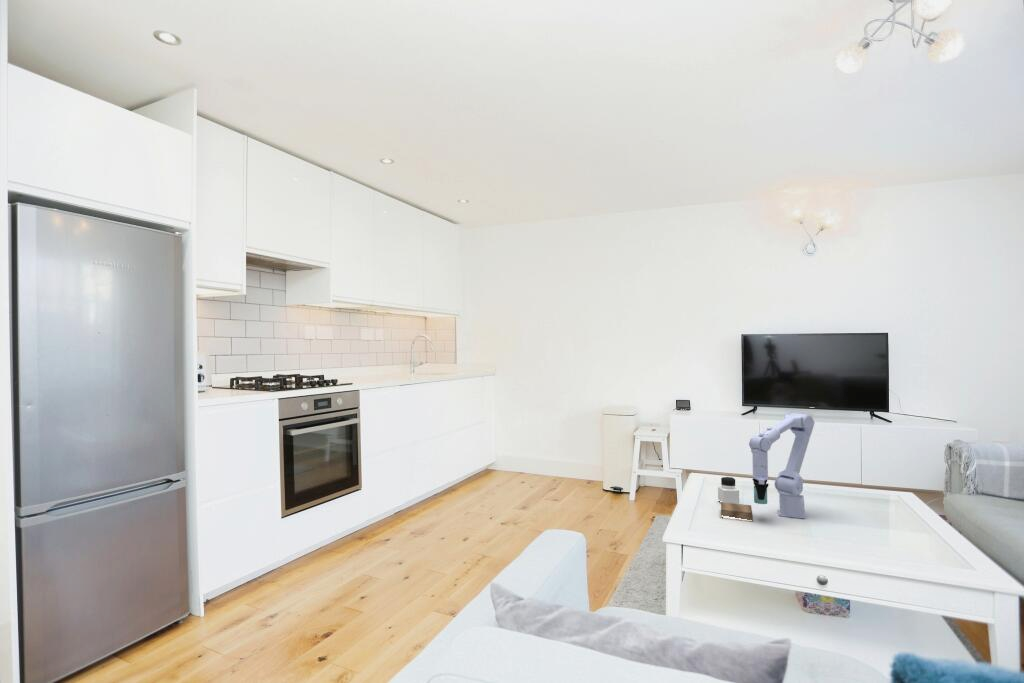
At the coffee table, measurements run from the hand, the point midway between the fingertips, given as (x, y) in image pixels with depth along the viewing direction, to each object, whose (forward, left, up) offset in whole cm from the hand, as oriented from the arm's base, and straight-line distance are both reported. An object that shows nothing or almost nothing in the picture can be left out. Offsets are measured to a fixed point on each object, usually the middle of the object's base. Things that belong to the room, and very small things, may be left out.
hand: (760, 498), depth 215 cm
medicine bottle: (+12, -21, -9) cm, 26 cm away
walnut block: (+9, -2, -9) cm, 13 cm away
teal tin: (0, 0, -2) cm, 2 cm away
